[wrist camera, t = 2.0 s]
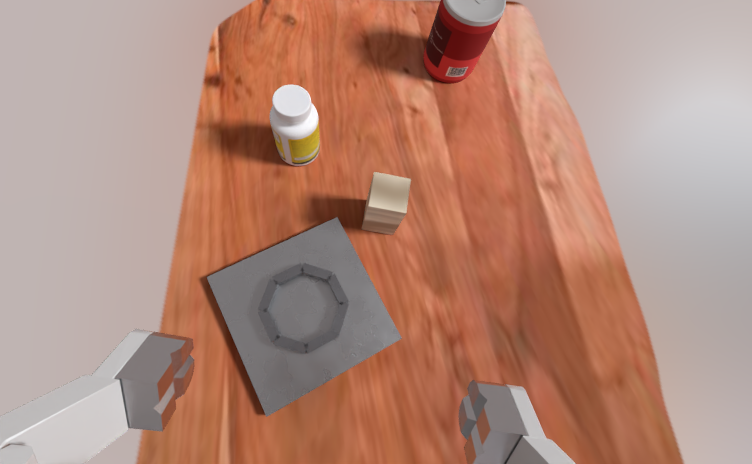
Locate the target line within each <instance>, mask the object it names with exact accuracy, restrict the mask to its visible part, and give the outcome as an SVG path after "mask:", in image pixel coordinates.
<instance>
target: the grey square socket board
mask: <svg viewBox="0 0 752 464" xmlns="http://www.w3.org/2000/svg"><path fill="white" fill-rule="evenodd" d="M207 279H208V282H209V284H210V286H211V289H212V291H213V293H214V296H215V298H216V300H217V303H218V305H219V307H220V310H221V312H222V314H223V317H224V319H225V321H226V324H227V326H228V328H229V331H230V333H231V335H232V338H233V340H234V342H235V345H236V347H237V349H238V352H239V354H240V356H241V359H242V361H243V363H244V366H245V368H246V370H247V373H248V375H249V377H250V380H251V382H252V384H253V387H254V389H255V391H256V394H257V396H258V398H259V401H260V403H261V405H262V408H263V410H264V412H265V415H266V417H267V416H269V415H270V414H272V413H274V412H276V411H277V410H279V409H281V408H282V407H284V406H286V405H288V404H289V403H291V402H293V401H295V400H296V399H298V398H300V397H301V396H303V395H305V394H307V393H308V392H310V391H312V390H314V389H315V388H317V387H319V386H320V385H322V384H324V383H326V382H327V381H329V380H331V379H332V378H334V377H336V376H338V375H339V374H341V373H343V372H345V371H346V370H348V369H350V368H351V367H353V366H355V365H357V364H358V363H360V362H362V361H364V360H365V359H367V358H369V357H370V356H372V355H374V354H376V353H377V352H379V351H381V350H383V349H384V348H386V347H388V346H389V345H391V344H393V343H395V342H396V341H398V340H400V339H401V336H400V334H399V332H398V330H397V329H396V327H395V325H394V323H393V321H392V319H391V317H390V315H389V314H388V312H387V310H386V308H385V306H384V304H383V302H382V300H381V298H380V297H379V295H378V293H377V291H376V289H375V287H374V285H373V283H372V282H371V280H370V278H369V276H368V274H367V272H366V270H365V268H364V266H363V265H362V263H361V261H360V259H359V257H358V255H357V253H356V251H355V250H354V248H353V246H352V244H351V242H350V240H349V238H348V236H347V234H346V233H345V231H344V229H343V227H342V225H341V223H340V221H339V219H338V218H337V217H336V218H334V219H332V220H330V221H327V222H325V223H323V224H321V225H319V226H317V227H314V228H312V229H310V230H308V231H306V232H303V233H301V234H299V235H297V236H295V237H293V238H290V239H288V240H286V241H284V242H282V243H280V244H277V245H275V246H273V247H271V248H269V249H266V250H264V251H262V252H260V253H258V254H256V255H253V256H251V257H249V258H247V259H245V260H243V261H240V262H238V263H236V264H234V265H232V266H229V267H227V268H225V269H223V270H221V271H219V272H216V273H214V274H212V275H210V276H208V277H207Z"/></svg>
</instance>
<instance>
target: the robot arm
mask: <svg viewBox="0 0 752 464" xmlns="http://www.w3.org/2000/svg"><path fill="white" fill-rule="evenodd" d="M193 348H194V347H193V339H191V338H187V337H181V336H176V335H170V334H164V333H158V332H151V331H145V330H139V329H135V330H133V331H131V332H130V333H129V334H128V335H127V336H126V337H125V338H124V339H123V340H122V341H121V343H120V344H119V345H118V346H117V347H116V348H115V349H114V351H113V352H112V353H111V354H110V355H109V356H108V357H107V358H106V359H105V360H104V362H103V363H102V364H101V365H100V366H99V367H98V368H97V369H96V371H95V372H94V373H93V374H92V375H84V376H82V377H80V378H77V379H75V380H73V381H71V382H69V383H67V384H65V385H63V386H61V387H59V388H57V389H55V390H53V391H51V392H49V393H47V394H45V395H43V396H41V397H39V398H37V399H35V400H32V401H30V402H29V403H27V404H24V405H22V406H20V407H18V408H16V409H14V410H12V411H10V412H8V413H6V414H4V415H2V416H0V464H84V463H86V462H87V461H88V460H89V459H91V458H92V457H93V456H95V455H96V454H98V453H99V452H100V451H102V450H103V449H104V448H105V447H107V446H108V445H109V444H111V443H112V442H113V441H115V440H116V439H117V438H119V437H120V436H121V435H123V434H124V433H125V432H127V431H128V428H134V429H143V430H153V431H163V430H164V429H165V427H166V425H167V423H168V422H169V420H170V418H171V416H172V415H173V413H174V411H175V409H176V402H175V400H176V399H177V398H179V397H181V396H182V395H184V394H185V392H186V390H187V388H188V386H189V384H190V381H191V379H192V376H193V372H194V359H193V358H192V357H191V355H190V353H191V351H192V350H193ZM467 389H468V393H469V395H468V396H466V397H465V398H463V400H462V402H461V405H460V409H459V426H460V431H461V433H462V434H463V436H464V437H465V438H466V439H467V442H466V444H465V446H464V450H465V455H466V459H467V464H576V463H575V462H574V461H573V460H572V459H571V458H570V457H569V456H568V455H566V454H565V453H564V452H563V451H562V450H561V449H560V448H559V447H558V446H557V445H556V444H555V443H554V442H553V441H552V440H550V439H546V437H545V434H544V432H543V430H542V427H541V425H540V423H539V420H538V418H537V416H536V414H535V411H534V409H533V407H532V404H531V402H530V400H529V397H528V395H527V393H526V391H525V389H524V388H523V387H519V386H512V385H504V384H499V383H492V382H484V381H477V380H473V381H471V382H470V384H469V386H468V388H467Z"/></svg>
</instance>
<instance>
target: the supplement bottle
mask: <svg viewBox="0 0 752 464" xmlns="http://www.w3.org/2000/svg"><path fill="white" fill-rule="evenodd" d="M272 102H273V107H272V108H271V111H270V123H271V127H272V131H273V135H274V138H275V142H276V146H277V150H278V153H279V155H280V157H281V158H282V159H283V160H284V161H285V162H287V163H288V164H291V165H295V166H303V165H307V164H309V163H311V162H312V161H314V160H315V158H316V157H317V155H318V153H319V149H320V140H319V120H318V113H317V110H316V108H315V106H314V105H313V104H312V103H311V98H310V95H309V93H308V92H307V91H306V90H305V89H304V88H302V87H300V86H297V85H285V86H282V87H280V88H279V89H278V90H276V92H275V93H274V95H273V99H272Z"/></svg>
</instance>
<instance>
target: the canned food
mask: <svg viewBox="0 0 752 464" xmlns="http://www.w3.org/2000/svg"><path fill="white" fill-rule="evenodd" d="M505 6H506V0H441V1H440V4H439V7H438V10H437V14H436V17H435V20H434V23H433V26H432V29H431V32H430V35H429V38H428V41H427V45H426V48H425V51H424V56H423V57H424V66H425V68H426V70H427V72H428V73H429V74H430V75H431V76H432V77H433V78H435V79H437V80H439V81H441V82H445V83H456V82H459V81H462V80H463V79H465V78H466V77H467V76H468V75H469V74H470V73H471V72H472V71H473V69H474V67H475V65H476V63H477V62H478V60H479V58H480V56H481V54H482V52H483V50H484V49H485V47H486V45H487V43H488V41H489V39H490V37H491V35H492V34H493V32H494V30H495V28H496V26H497V24H498V22H499V20H500V18H501V16H502V15H503V12H504V9H505Z"/></svg>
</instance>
